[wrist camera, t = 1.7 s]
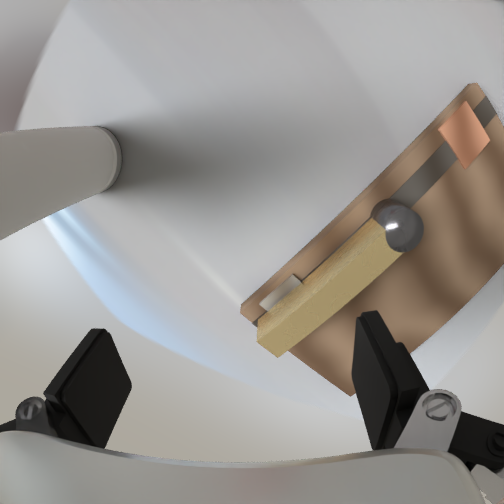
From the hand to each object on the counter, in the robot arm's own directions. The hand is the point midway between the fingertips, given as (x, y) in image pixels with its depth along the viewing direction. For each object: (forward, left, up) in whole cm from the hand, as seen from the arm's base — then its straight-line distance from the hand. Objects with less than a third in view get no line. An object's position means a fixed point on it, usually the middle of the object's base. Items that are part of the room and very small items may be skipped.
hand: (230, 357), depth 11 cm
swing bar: (-3, +7, -15) cm, 16 cm away
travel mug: (+5, -15, -17) cm, 23 cm away
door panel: (-9, +13, -17) cm, 23 cm away
